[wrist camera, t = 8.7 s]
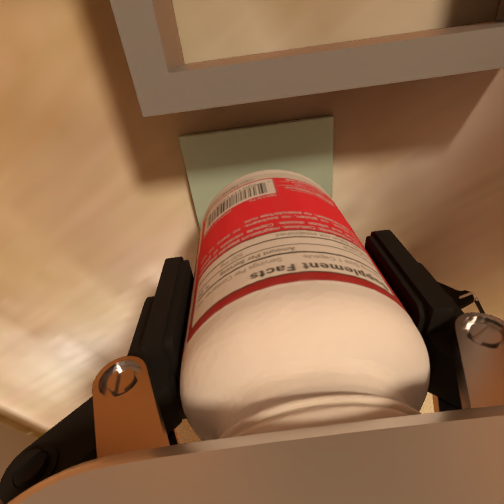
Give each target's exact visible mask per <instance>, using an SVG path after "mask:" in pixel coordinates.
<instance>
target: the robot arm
mask: <svg viewBox="0 0 504 504" xmlns="http://www.w3.org/2000/svg"><path fill="white" fill-rule="evenodd" d="M365 250H366V251H367V253H368V254H369V256H370V257H371V259H372V260H373V262H374V263H375V265H376V266H377V268H378V269H379V271H380V272H381V274H382V275H383V277H384V278H385V280H386V281H387V283H388V284H389V286H390V287H391V289H392V290H393V292H394V293H395V295H396V296H397V298H398V299H399V300H400V302H401V303H402V305H403V307H404V308H405V310H406V311H407V313H408V314H409V316H410V317H411V319H412V321H413V323H414V324H415V326H416V328H417V329H418V331H419V333H420V334H421V336H422V338H423V341H424V343H425V346H426V348H427V352H428V356H429V362H430V381H429V387H428V392H429V393H431V394H433V405H434V413H426V414H417V415H409V416H400V417H392V418H383V419H375V420H367V421H359V422H350V423H342V424H334V425H326V426H318V427H310V428H302V429H293V430H285V431H277V432H269V433H262V434H254V435H246V436H238V437H230V438H223V439H215V440H207V441H199V442H191V443H184V444H180V443H179V439H178V436H177V433H176V429H175V428H176V427H177V426H178V425H179V424H180V423H181V422H182V419H185V418H186V415H185V413H184V410H183V407H182V402H181V397H180V372H181V361H182V353H183V347H184V341H185V334H186V328H187V321H188V315H189V308H190V301H191V294H192V287H193V280H194V278H193V274H192V270H191V267H190V263H189V261H188V260H183V258H182V257H175V258H168V259H166V260H165V263H164V266H163V269H162V273H161V276H160V280H159V283H158V287H157V290H156V294H155V296H154V297H148V298H147V299H146V300H145V303H144V306H143V309H142V312H141V315H140V318H139V321H138V325H137V328H136V331H135V334H134V337H133V340H132V343H131V346H130V350H129V353H128V356H125V357H121V358H118V359H116V360H114V361H112V362H110V363H109V364H107V365H106V366H105V367H104V368H103V369H102V370H101V371H100V372H99V373H98V375H97V376H96V378H95V380H94V382H93V388H92V393H93V396H92V397H91V398H90V399H89V400H87V401H86V402H85V403H83V404H82V405H81V406H80V407H78V408H77V409H76V410H74V411H73V412H72V413H71V414H69V415H68V416H67V417H65V418H64V419H63V420H62V421H60V422H59V423H58V424H57V425H55V426H54V427H53V428H51V429H50V430H49V431H48V432H46V433H45V434H44V435H42V436H41V437H40V438H39V439H37V440H36V441H35V442H34V443H32V444H31V445H30V446H28V447H27V448H26V449H25V450H23V451H22V452H21V453H20V454H19V455H18V456H17V457H16V458H15V459H14V460H13V461H12V463H11V464H10V465H9V466H8V468H7V469H6V471H5V473H4V475H3V477H2V479H1V482H0V504H504V321H502V320H501V319H499V318H497V317H494V316H492V315H488V314H484V313H474V312H471V313H466V314H464V313H463V311H462V310H461V309H460V308H459V307H458V306H457V304H456V303H455V302H454V301H453V300H452V299H451V297H450V296H449V295H448V294H447V293H446V292H445V290H444V289H443V288H442V287H441V286H440V285H439V284H438V282H437V281H436V280H435V279H434V278H433V277H432V275H431V274H430V273H429V272H428V271H427V270H426V268H425V267H424V266H423V265H422V264H421V263H418V262H417V261H416V260H415V259H414V258H413V257H412V255H411V254H410V253H409V252H408V251H407V250H406V248H405V247H404V246H403V245H402V244H401V242H400V241H399V240H398V239H397V238H396V237H395V235H394V234H393V233H392V232H391V231H390V230H381V231H374V232H372V233H371V236H367V237H366V242H365Z"/></svg>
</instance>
